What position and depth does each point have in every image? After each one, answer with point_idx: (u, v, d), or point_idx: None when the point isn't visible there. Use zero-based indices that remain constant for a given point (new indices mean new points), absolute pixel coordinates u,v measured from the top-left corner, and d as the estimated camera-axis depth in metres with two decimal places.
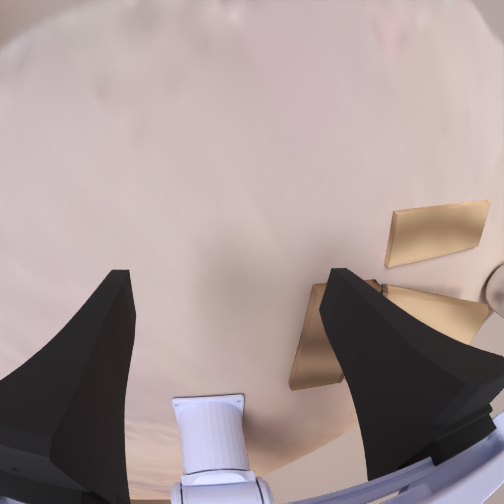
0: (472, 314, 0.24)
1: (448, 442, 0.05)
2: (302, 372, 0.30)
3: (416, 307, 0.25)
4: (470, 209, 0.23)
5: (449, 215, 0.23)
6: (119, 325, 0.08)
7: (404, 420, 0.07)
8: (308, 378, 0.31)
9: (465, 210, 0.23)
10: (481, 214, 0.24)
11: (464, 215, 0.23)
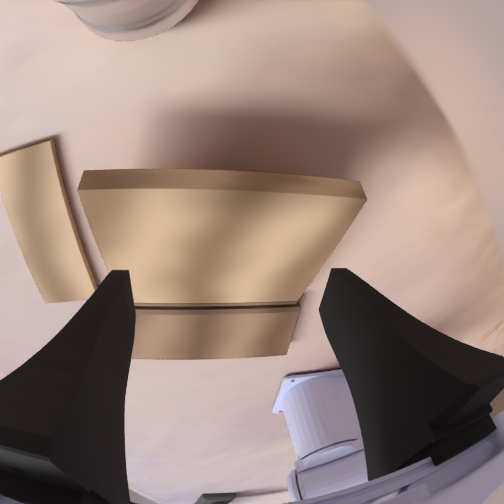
0: (99, 218, 0.13)
1: (448, 442, 0.05)
2: (250, 353, 0.26)
3: None
4: (7, 201, 0.16)
5: (23, 237, 0.18)
6: (119, 325, 0.08)
7: (404, 420, 0.07)
8: (266, 345, 0.26)
9: (11, 211, 0.16)
10: (7, 171, 0.15)
11: (16, 210, 0.16)
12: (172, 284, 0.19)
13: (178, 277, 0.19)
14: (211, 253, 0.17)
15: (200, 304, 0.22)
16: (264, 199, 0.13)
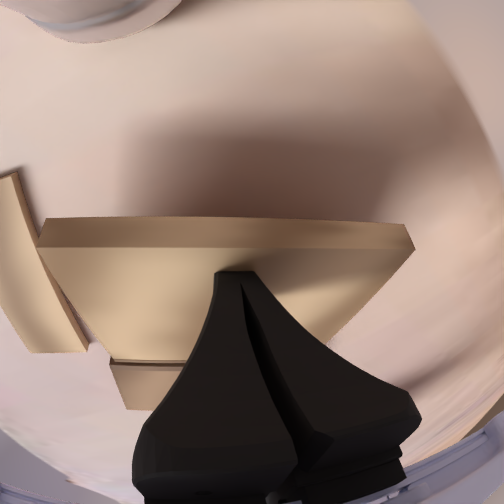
0: (70, 280, 0.10)
1: (320, 489, 0.05)
2: None
3: (116, 342, 0.15)
4: None
5: None
6: None
7: None
8: None
9: None
10: None
11: None
12: (170, 344, 0.15)
13: (177, 338, 0.15)
14: None
15: None
16: (288, 257, 0.10)
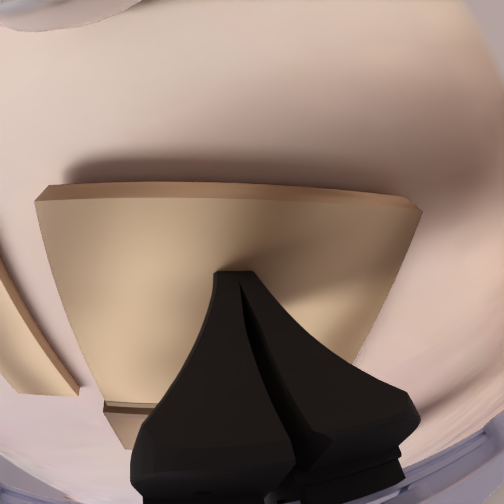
0: (62, 254, 0.09)
1: (319, 490, 0.05)
2: None
3: (108, 369, 0.12)
4: None
5: None
6: None
7: None
8: None
9: None
10: None
11: None
12: (170, 373, 0.13)
13: (177, 362, 0.13)
14: None
15: None
16: (296, 216, 0.09)
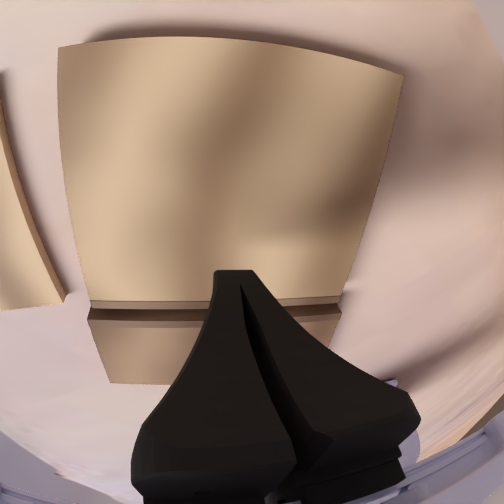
0: (73, 96, 0.09)
1: (319, 490, 0.05)
2: None
3: (96, 246, 0.12)
4: None
5: None
6: None
7: None
8: None
9: None
10: None
11: None
12: (161, 249, 0.13)
13: (169, 231, 0.12)
14: (219, 168, 0.11)
15: (203, 303, 0.15)
16: (287, 58, 0.09)
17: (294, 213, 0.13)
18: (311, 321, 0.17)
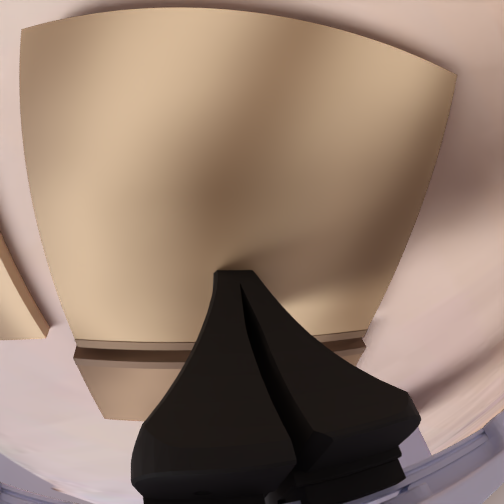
0: (38, 91, 0.06)
1: (320, 489, 0.05)
2: None
3: (76, 280, 0.10)
4: None
5: None
6: None
7: None
8: None
9: None
10: None
11: None
12: (157, 286, 0.10)
13: (166, 264, 0.10)
14: (231, 185, 0.09)
15: None
16: (323, 42, 0.07)
17: (323, 241, 0.10)
18: None
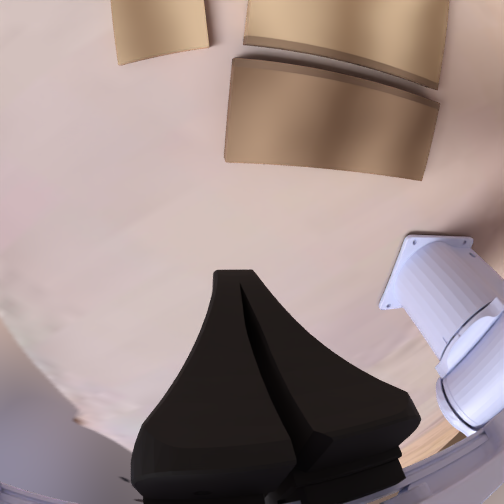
0: None
1: (320, 490, 0.05)
2: (387, 166, 0.19)
3: None
4: None
5: None
6: None
7: None
8: (406, 156, 0.19)
9: None
10: None
11: None
12: None
13: None
14: None
15: (347, 55, 0.15)
16: None
17: (406, 2, 0.12)
18: (420, 103, 0.17)
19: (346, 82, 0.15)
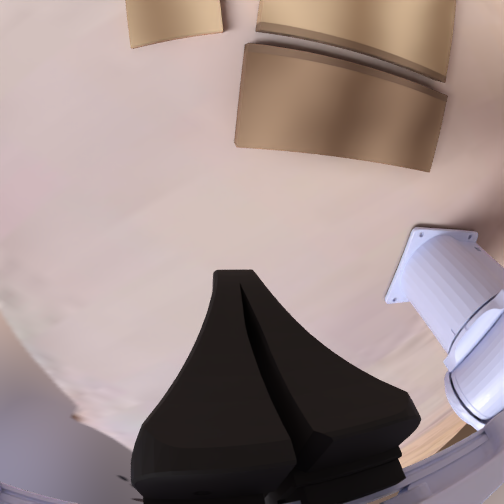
0: None
1: (320, 490, 0.05)
2: (396, 156, 0.19)
3: None
4: None
5: None
6: None
7: None
8: (414, 147, 0.18)
9: None
10: None
11: None
12: None
13: None
14: None
15: (358, 45, 0.14)
16: None
17: None
18: (429, 94, 0.16)
19: (357, 71, 0.15)
